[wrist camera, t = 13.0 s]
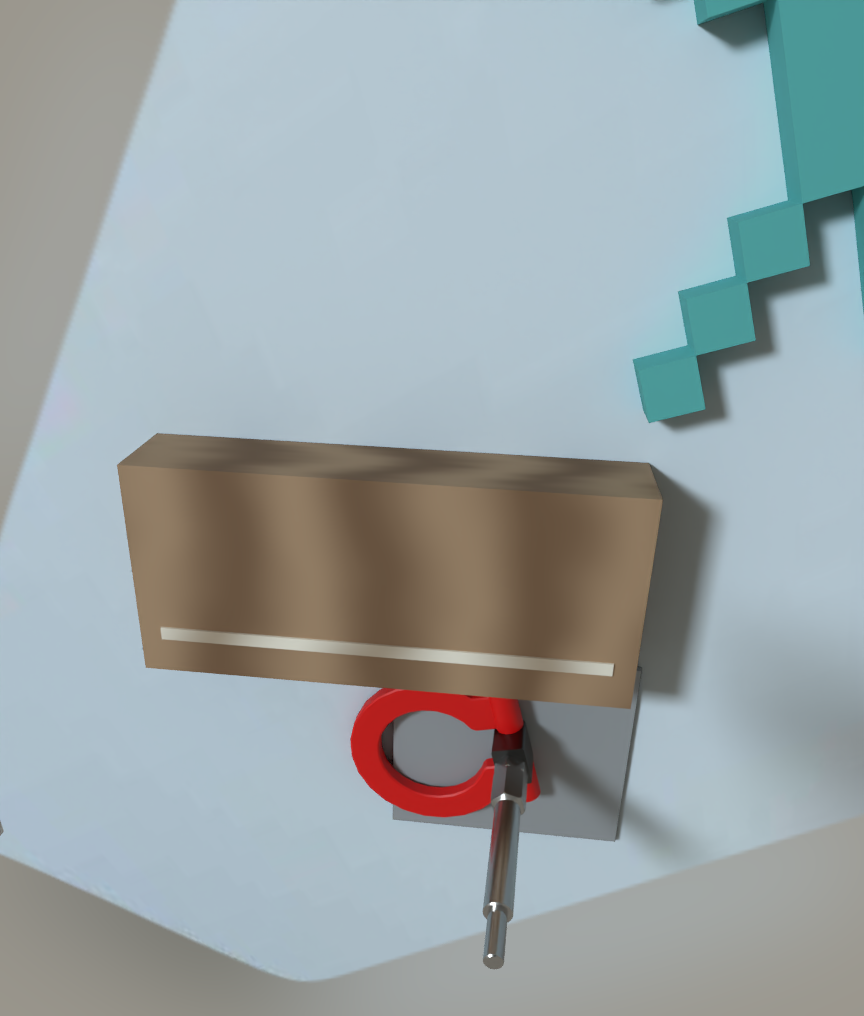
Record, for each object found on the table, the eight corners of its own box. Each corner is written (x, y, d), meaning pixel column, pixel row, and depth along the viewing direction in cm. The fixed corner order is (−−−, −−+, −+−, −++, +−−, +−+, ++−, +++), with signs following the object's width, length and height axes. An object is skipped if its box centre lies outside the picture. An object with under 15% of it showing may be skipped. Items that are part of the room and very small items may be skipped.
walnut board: (648, 463, 35) (663, 501, 32) (621, 656, 39) (631, 710, 36) (157, 433, 37) (116, 465, 34) (179, 621, 41) (144, 668, 38)
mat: (640, 667, 40) (641, 670, 39) (614, 837, 44) (614, 841, 44) (395, 647, 41) (394, 650, 40) (393, 815, 45) (392, 819, 45)
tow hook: (379, 807, 45) (546, 794, 43) (313, 1041, 33) (537, 1038, 31) (336, 682, 42) (513, 661, 40) (246, 891, 30) (489, 877, 28)
